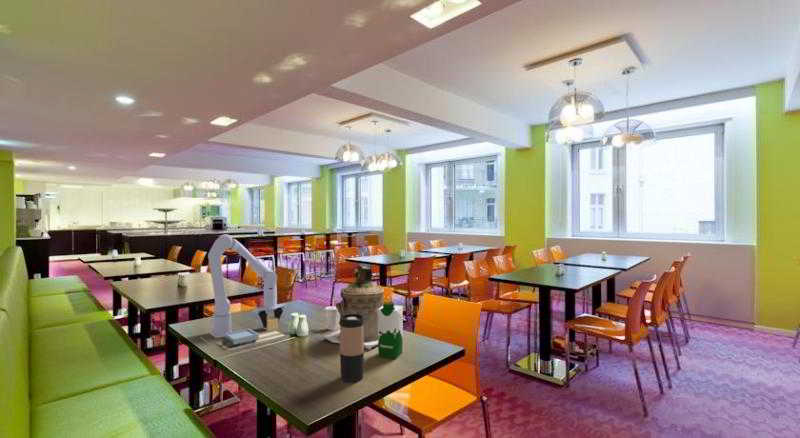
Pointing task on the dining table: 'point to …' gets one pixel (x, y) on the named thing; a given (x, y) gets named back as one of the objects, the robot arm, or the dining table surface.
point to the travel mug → (351, 347)
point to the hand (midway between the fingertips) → (270, 326)
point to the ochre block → (271, 323)
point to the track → (262, 338)
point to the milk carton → (390, 330)
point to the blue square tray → (242, 336)
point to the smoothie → (332, 316)
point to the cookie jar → (361, 305)
